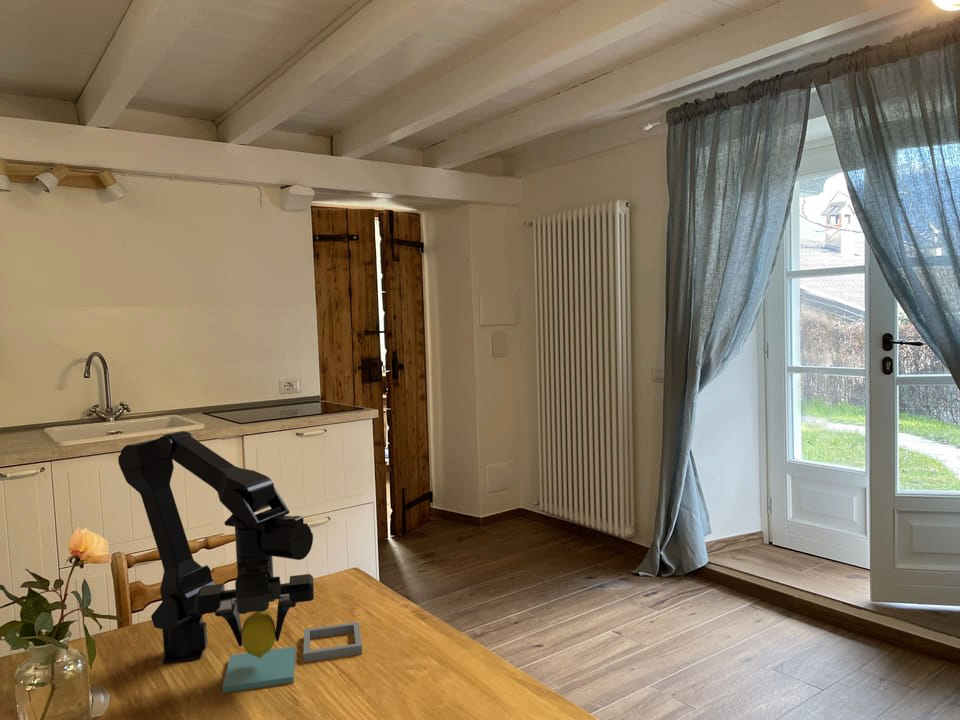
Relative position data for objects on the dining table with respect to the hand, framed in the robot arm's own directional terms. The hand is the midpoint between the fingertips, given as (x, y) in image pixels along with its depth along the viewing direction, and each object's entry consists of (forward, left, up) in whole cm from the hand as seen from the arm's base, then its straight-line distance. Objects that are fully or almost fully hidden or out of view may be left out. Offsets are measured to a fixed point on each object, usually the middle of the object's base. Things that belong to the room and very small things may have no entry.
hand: (259, 642), depth 117 cm
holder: (+12, +6, -5) cm, 14 cm away
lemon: (0, 0, -3) cm, 3 cm away
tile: (0, 0, -5) cm, 5 cm away
